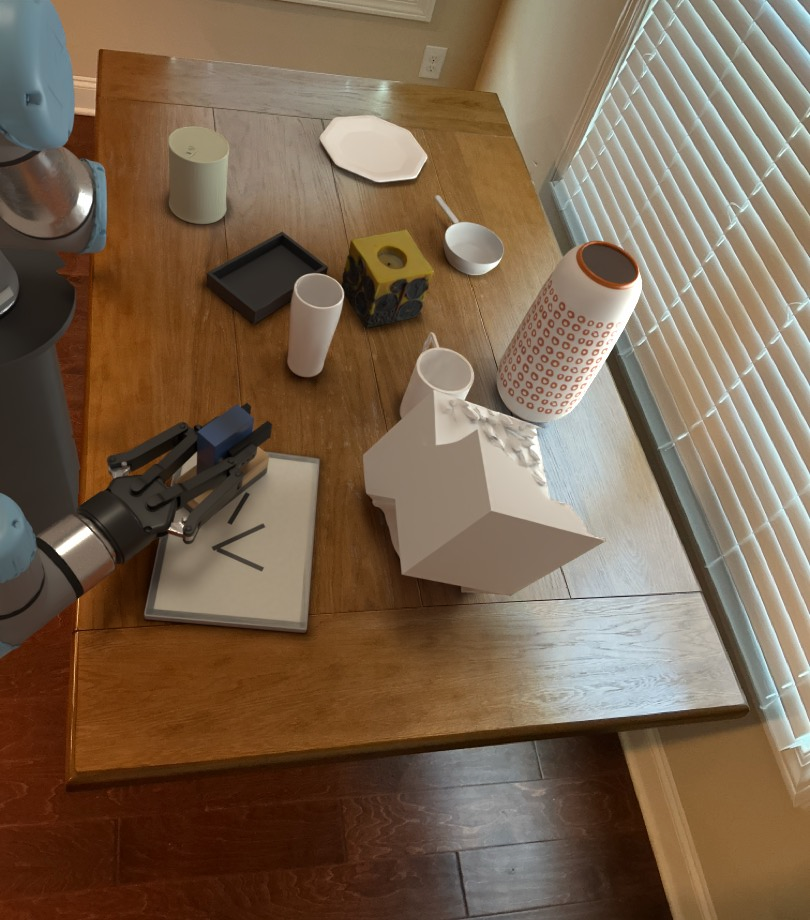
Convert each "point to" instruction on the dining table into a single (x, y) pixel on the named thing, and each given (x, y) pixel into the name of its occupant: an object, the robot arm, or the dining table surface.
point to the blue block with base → (225, 451)
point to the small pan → (470, 245)
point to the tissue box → (471, 498)
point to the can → (198, 174)
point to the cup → (437, 375)
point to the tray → (263, 276)
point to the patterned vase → (568, 331)
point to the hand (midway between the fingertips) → (258, 420)
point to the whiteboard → (244, 555)
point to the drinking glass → (313, 322)
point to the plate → (373, 148)
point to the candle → (386, 278)
